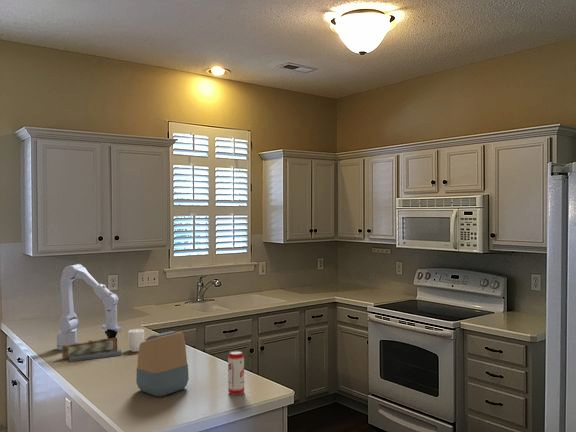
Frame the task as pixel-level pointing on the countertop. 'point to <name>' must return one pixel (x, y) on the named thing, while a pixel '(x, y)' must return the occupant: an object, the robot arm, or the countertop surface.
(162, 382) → the two-tone smart speaker
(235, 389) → the beer can
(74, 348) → the picture frame
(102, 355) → the slanted bar
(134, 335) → the white cup
